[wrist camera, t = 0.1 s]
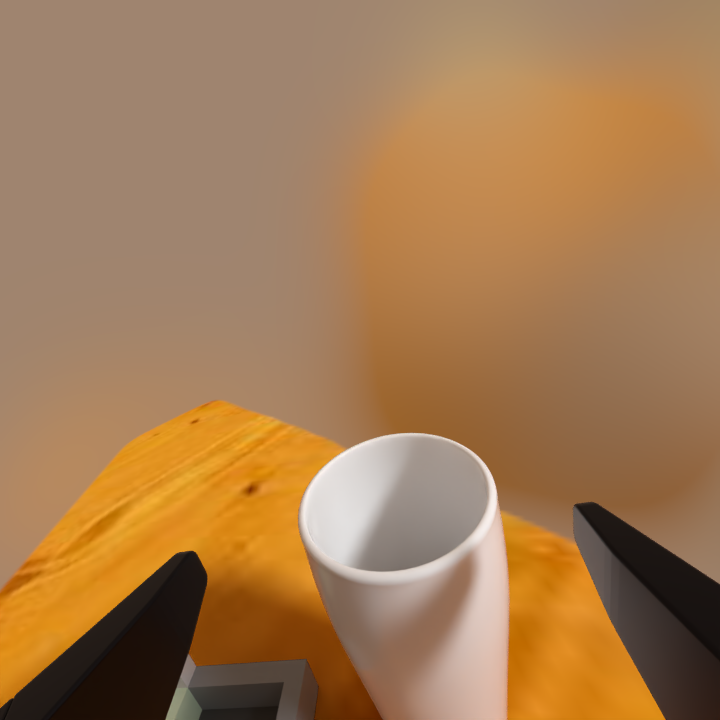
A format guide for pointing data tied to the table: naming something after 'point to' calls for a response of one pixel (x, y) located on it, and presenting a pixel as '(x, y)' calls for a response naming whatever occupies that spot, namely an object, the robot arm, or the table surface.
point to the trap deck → (245, 692)
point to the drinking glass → (414, 574)
